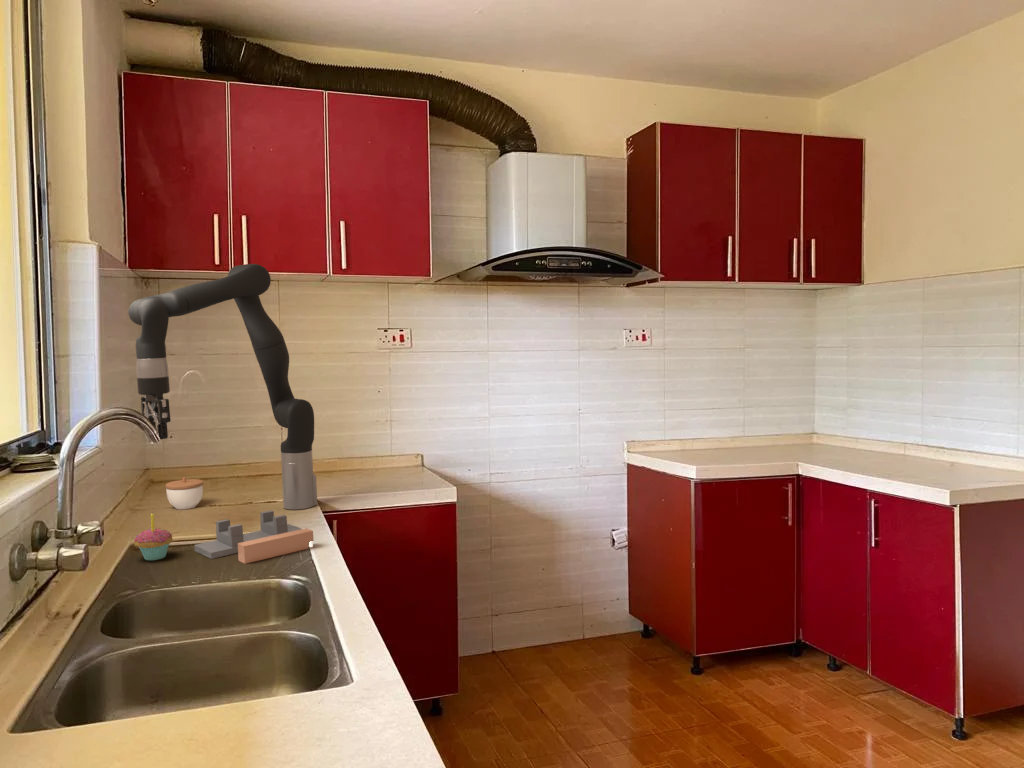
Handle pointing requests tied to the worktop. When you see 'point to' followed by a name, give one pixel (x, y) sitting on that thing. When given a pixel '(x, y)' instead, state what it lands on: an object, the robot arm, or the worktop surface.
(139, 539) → the cupcake
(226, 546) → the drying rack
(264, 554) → the clay strip
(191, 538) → the worktop surface
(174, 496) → the lidded jar
